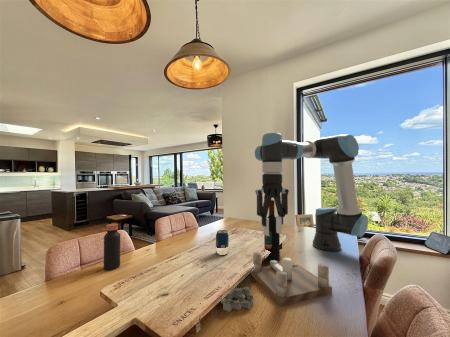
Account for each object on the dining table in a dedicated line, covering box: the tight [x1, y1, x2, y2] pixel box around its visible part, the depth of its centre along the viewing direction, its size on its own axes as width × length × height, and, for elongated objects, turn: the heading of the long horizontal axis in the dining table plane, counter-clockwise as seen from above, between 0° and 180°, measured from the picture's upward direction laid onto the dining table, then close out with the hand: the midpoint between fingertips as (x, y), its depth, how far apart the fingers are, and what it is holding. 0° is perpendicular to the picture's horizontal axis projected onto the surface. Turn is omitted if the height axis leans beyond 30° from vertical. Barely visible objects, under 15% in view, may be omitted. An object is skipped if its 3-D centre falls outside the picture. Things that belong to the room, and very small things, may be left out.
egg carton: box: [220, 286, 255, 313], centre depth 69 cm, size 11×8×4 cm
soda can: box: [215, 229, 230, 248], centre depth 112 cm, size 7×7×12 cm
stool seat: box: [250, 251, 333, 307], centre depth 82 cm, size 23×23×10 cm
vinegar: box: [103, 222, 121, 271], centre depth 96 cm, size 7×7×20 cm
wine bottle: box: [263, 199, 281, 263], centre depth 104 cm, size 8×8×30 cm
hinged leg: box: [269, 257, 293, 280], centre depth 85 cm, size 13×4×7 cm, turn 18°
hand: (272, 233), depth 79 cm, fingers open, 5 cm apart
